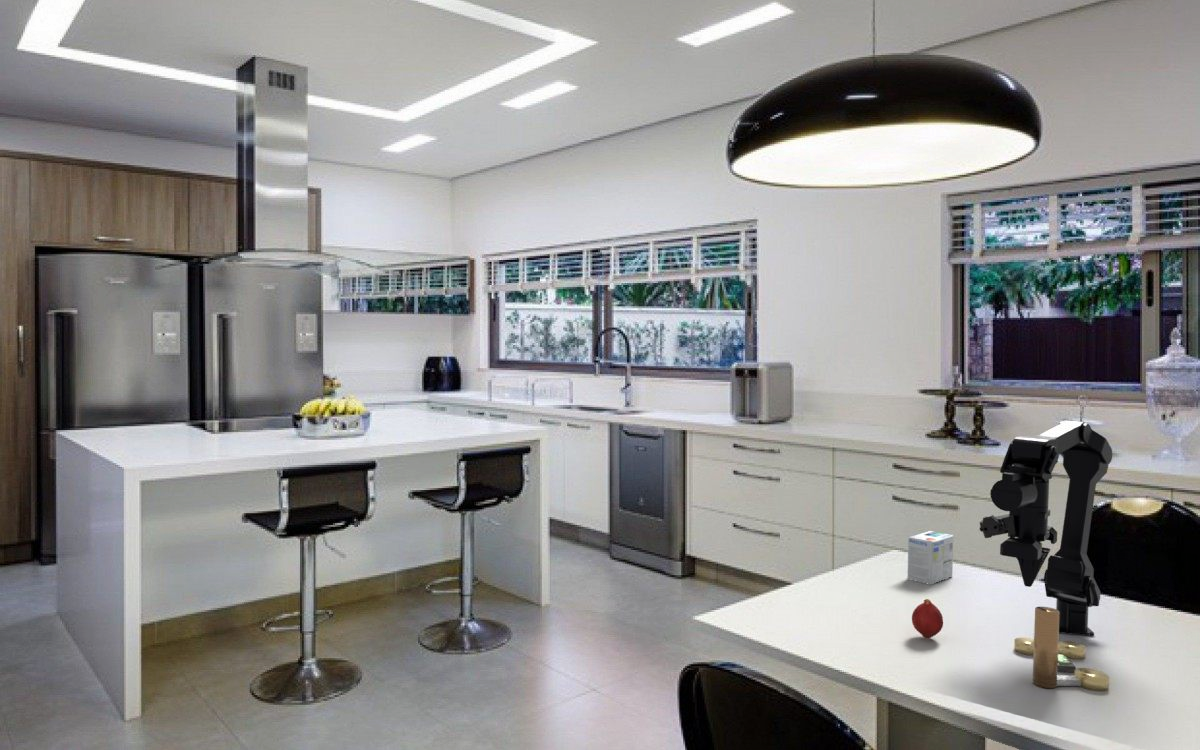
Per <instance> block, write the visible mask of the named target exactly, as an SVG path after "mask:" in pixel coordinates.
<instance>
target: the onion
mask: <svg viewBox="0 0 1200 750" xmlns="http://www.w3.org/2000/svg"><path fill="white" fill-rule="evenodd" d="M943 618H944V617H943V614H942V613H941V611H940V609H939V608H938V607H937V606H936V605H934V603H932V601H931V600H930V599H929V598H926V599H924V600H923V602H921V603H920V604H918V605H917V606H916V607H915V608H914V610H913V612H912V615H911V623H912V626H913V628H914V630H916V631H917V633H919V634H920V635H921V636H922V637H923V638H924V639H927V640H928V639H930V638H932V637H934V636H936V635H938V634H939V633H940V632H941V631H942V629H943V627H944V619H943Z"/></svg>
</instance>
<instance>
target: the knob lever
mask: <svg viewBox="0 0 1200 750" xmlns="http://www.w3.org/2000/svg"><path fill="white" fill-rule="evenodd" d="M1033 632H1034V633H1033V639H1034V656H1032V657H1033V658H1032V659H1033V660H1032V662H1033V663H1032V682H1033V683H1032V684H1034V685H1036V686H1038V687H1041V688H1045V689H1054V688H1057V687H1058V686H1059V687H1061V686H1063V687H1064V686H1065V687H1069V686H1072V687H1080V688H1083V689H1086V690H1090V691H1096V692H1105V691H1107V690H1109V688H1110V686H1109V685H1110V676H1109V675H1108V674H1107V673H1105V672H1103V671H1101V670H1098V669H1095V668H1087V667H1080V668H1079V667H1078V668H1076V669H1075V673H1073V674H1074V675H1072V674H1071V675H1067V674H1065V675H1064V674H1063V675H1058V672H1057V668H1058V642H1059V638H1060V637H1059V636H1060V635H1059V634H1060V632H1059V611H1058V610H1056V608H1053V607H1049V606H1036V607H1035V608H1034V630H1033Z"/></svg>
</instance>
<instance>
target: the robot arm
mask: <svg viewBox="0 0 1200 750" xmlns="http://www.w3.org/2000/svg"><path fill="white" fill-rule="evenodd" d="M1060 456H1061V457H1062V466H1063V468H1064V470H1065V473H1066V474H1067V476H1068V479H1069V482H1068V491H1067V497H1066V503H1065V511H1064V518H1063V519H1064V520H1063V527H1062V533H1061V539H1060V540H1061V542H1060V546H1059V548H1058V551H1056V552H1055V553H1054V555H1053V554H1052V555H1050V556H1049V557H1048V555H1049V554H1050V552H1051V548H1050V547H1049V548H1048V547H1043V543H1042V542H1045V541H1050V544H1051V545H1055V544H1056V543H1057V542H1058V531H1057V530H1056V529H1055V528H1054V526H1049V525H1048V523H1049V522H1048V521H1049V520H1048V518H1049V517H1050V516H1051V509H1049V493H1050V480H1051V479H1052V478H1053V475H1052V473H1053V471H1054V469H1055V466H1056V464H1058V463H1059V458H1060ZM1112 459H1113V448H1112V447H1111V445H1110V443H1109V441H1108V440H1107V438H1106V437H1104V436H1103V435H1101V434H1100V433H1098V432H1097V431H1095V430H1094V429H1092V427H1091V425H1090V424H1089V423H1086V422H1085V421H1072V420H1064V421H1060V422H1059V423H1058V424H1057V425H1056V426H1054V427H1052V428H1050V429H1048V430H1046V431H1043V432H1042V433H1040V434H1038V435H1021V436H1020V435H1019V436H1016V437H1015V438H1013V439H1012V441H1011V442H1010V443H1009V445H1008V448H1007V450H1006V454H1005V456H1004V458H1003V461H1002V465H1001V467H1000V469H999V472H1000V473H1001V479H1000V480H997V481H996V482H994V484H993V485H992V487H991V489H990V492H989V495H990V498H991V499H990V500H991V501H992V503H993V505H994V506H996V507H997V508H998V509H999V510H1001V511H1004V512H1009V513H1008V514H1003V515H1002V514H1001V515H997V516H996V515H994V514H991V515H990V516H987V515H986V516H984V517H982V520H981V521H979V531H980V532H982V533H983V536H984V538H985V539H989V538H990V539H991V538H992V537H995V536H999V535H1005V534H1007V537H1008V538H1007V539H1006V540H1004V541H1003V542H1002V543H1000V545H999V555H1000V556H1004V557H1005V556H1006V557H1009V558H1016V559H1017V562H1018V564H1019V569H1020V574H1021V577H1022V581H1023V585H1024V586H1025V587H1028V588H1031V587H1032V586H1033V584H1034V582H1035V581H1036V579H1037V577H1038V575H1039V573H1040V571H1041V569H1042V568H1043V565H1044V562H1046V559H1047V567H1046V569H1045V570H1044V577H1043V582H1044V588H1045V596H1046V597H1048V598H1052V599H1053V598H1054V599H1056V600H1055V601H1056V602H1055V603H1056V604H1055V609H1056V610H1058V611H1059V634H1066V635H1067V634H1070V635H1081V636H1082V635H1083V636H1095V632H1094V631H1093V630H1092V629H1091V628H1089V608H1091V607H1099V606H1100V600H1101V590H1100V588H1099V586H1098V584H1097V582H1096V579H1095V577H1094V573H1095V572H1094V571H1095V569H1094V567H1093V565H1092V563H1091V561H1090V558H1089V557H1088V554H1087V553H1088V547H1089V540H1090V539H1089V538H1090V532H1091V523H1092V517H1093V508H1094V502H1095V494H1096V487H1097V484H1098V483H1099V481H1101V480H1102V478H1103V477H1104V476H1106V474H1108V469H1109V465H1110V463H1111V462H1112ZM1047 557H1048V558H1047Z"/></svg>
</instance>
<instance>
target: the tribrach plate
mask: <svg viewBox="0 0 1200 750" xmlns="http://www.w3.org/2000/svg"><path fill="white" fill-rule="evenodd" d="M1013 645H1014V647H1013V649H1014V651H1015V652H1017V653H1018V654H1021V655H1025V656H1030V657H1031V656H1032V657H1033V656H1034V638H1030V637H1029V638H1028V637H1015V639H1014V644H1013ZM1070 659H1072V660H1084V659H1086V646H1085V645H1084V644H1081V643H1078V642H1075V641H1069V640H1061V641H1058V668H1057V673H1068V674H1075V669H1077V667H1076V665H1075V664H1074V663H1073V662H1072V661H1071V660H1070Z"/></svg>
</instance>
